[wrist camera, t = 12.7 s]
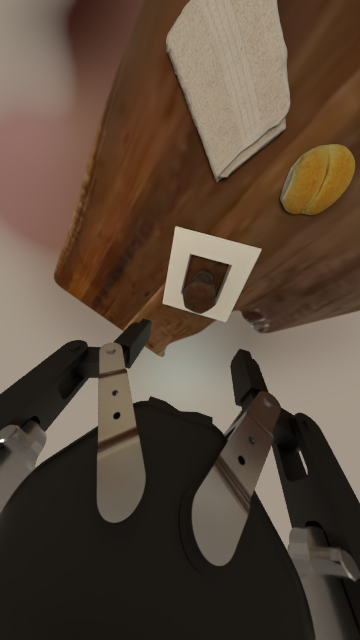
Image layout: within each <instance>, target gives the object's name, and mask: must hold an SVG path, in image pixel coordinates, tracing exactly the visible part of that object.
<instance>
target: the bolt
mask: <svg viewBox="0 0 360 640" xmlns="http://www.w3.org/2000/svg"><path fill="white" fill-rule="evenodd" d="M182 293H183V301H184V306H185V308H187V309H188V310H190V311H192V312H195V313H198V314H202V313H204V312H206V311H208V310H210V309H211V308H213V307H214V306H215V305H216V300H215V285H213V277H212V274H211V273H209V272H207V271H205V270H200V271H199V272H198V273H197V274H195V275H194V276H193V277H192V283H190V284H189V285H188V286H186V287H185V288H184V289H183V290H182Z"/></svg>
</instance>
